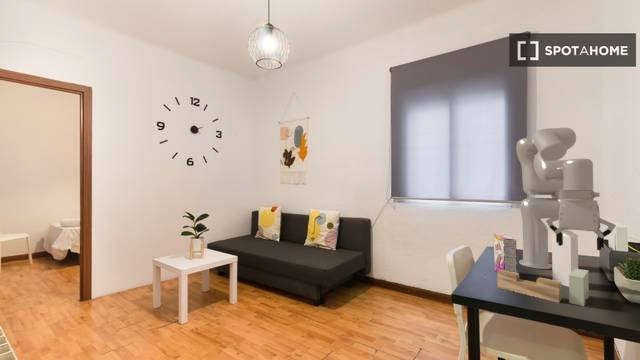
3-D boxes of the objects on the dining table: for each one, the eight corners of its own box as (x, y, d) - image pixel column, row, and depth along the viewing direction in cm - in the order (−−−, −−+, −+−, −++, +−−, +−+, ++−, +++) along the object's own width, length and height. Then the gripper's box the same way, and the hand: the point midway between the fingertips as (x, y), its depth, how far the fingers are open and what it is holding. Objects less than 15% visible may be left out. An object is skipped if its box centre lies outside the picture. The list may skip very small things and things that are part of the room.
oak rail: (500, 285, 111) (500, 269, 111) (561, 299, 97) (561, 281, 98) (497, 287, 109) (497, 271, 109) (559, 302, 95) (558, 284, 95)
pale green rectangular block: (575, 294, 102) (574, 268, 102) (588, 296, 100) (588, 270, 100) (569, 302, 95) (569, 275, 95) (583, 306, 92) (583, 277, 92)
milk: (578, 284, 111) (578, 227, 111) (571, 287, 108) (571, 228, 108) (559, 280, 117) (559, 225, 117) (551, 282, 114) (551, 226, 114)
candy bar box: (493, 270, 129) (493, 233, 129) (505, 271, 128) (505, 234, 128) (503, 279, 118) (503, 238, 118) (517, 279, 117) (517, 239, 117)
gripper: (615, 196, 93) (617, 250, 93) (548, 195, 106) (549, 242, 106) (613, 196, 88) (615, 253, 88) (543, 195, 101) (544, 245, 101)
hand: (579, 247), depth 97 cm, fingers open, 9 cm apart
